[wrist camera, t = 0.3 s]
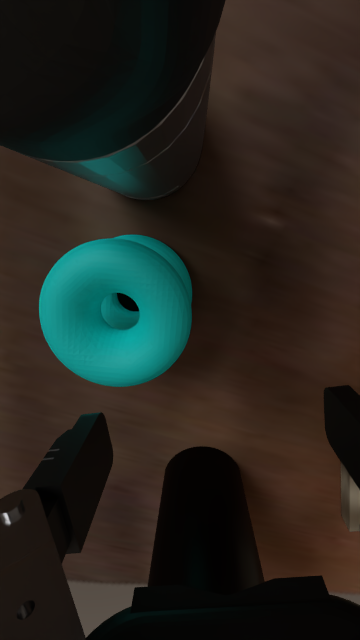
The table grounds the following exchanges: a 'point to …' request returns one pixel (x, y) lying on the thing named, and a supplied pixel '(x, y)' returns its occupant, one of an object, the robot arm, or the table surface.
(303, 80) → the table surface
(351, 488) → the shelf board
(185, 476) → the water bottle
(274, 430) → the table surface
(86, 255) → the donuts
